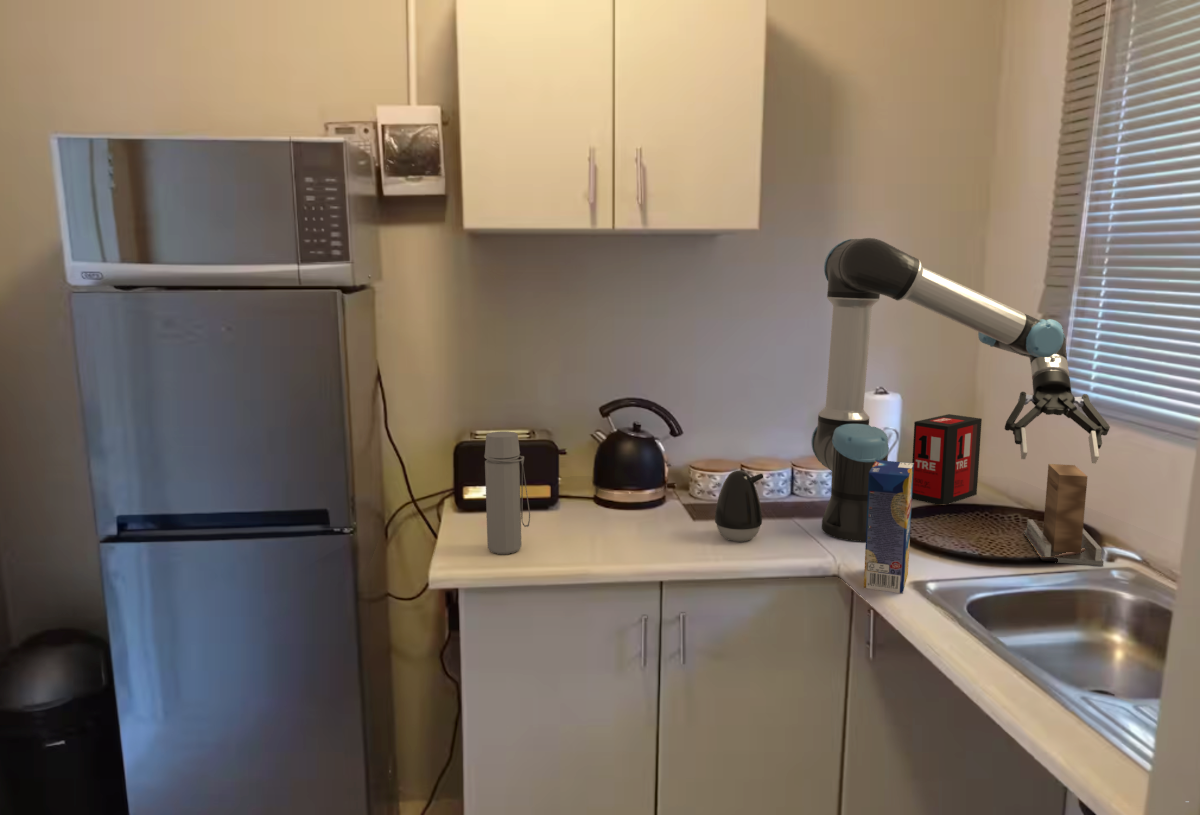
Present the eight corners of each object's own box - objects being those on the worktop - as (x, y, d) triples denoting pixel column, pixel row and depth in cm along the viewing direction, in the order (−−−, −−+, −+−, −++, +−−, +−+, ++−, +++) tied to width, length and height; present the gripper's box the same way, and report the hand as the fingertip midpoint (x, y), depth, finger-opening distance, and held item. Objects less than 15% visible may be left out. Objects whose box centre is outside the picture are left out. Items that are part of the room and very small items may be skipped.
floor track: (1041, 561, 172) (1043, 544, 171) (1023, 534, 189) (1025, 519, 188) (1103, 566, 169) (1104, 549, 168) (1079, 538, 186) (1080, 522, 185)
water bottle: (488, 557, 177) (484, 438, 172) (486, 545, 184) (482, 431, 180) (532, 554, 178) (530, 436, 174) (528, 542, 186) (526, 429, 182)
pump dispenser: (767, 544, 183) (769, 475, 181) (719, 546, 183) (720, 476, 180) (756, 530, 193) (757, 464, 191) (710, 531, 193) (711, 465, 190)
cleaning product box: (944, 487, 228) (948, 414, 225) (976, 494, 222) (981, 418, 218) (910, 498, 218) (914, 421, 215) (943, 506, 211) (947, 426, 208)
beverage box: (907, 573, 165) (913, 462, 162) (902, 593, 155) (908, 475, 152) (871, 569, 168) (876, 459, 164) (863, 588, 158) (868, 472, 155)
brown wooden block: (1052, 551, 175) (1059, 474, 172) (1042, 536, 184) (1047, 463, 181) (1081, 553, 173) (1088, 476, 171) (1069, 538, 183) (1075, 465, 180)
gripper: (993, 366, 194) (998, 444, 182) (1117, 370, 187) (1131, 451, 175) (988, 386, 200) (992, 463, 188) (1108, 391, 193) (1121, 471, 181)
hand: (1059, 458), depth 182 cm, fingers open, 13 cm apart
